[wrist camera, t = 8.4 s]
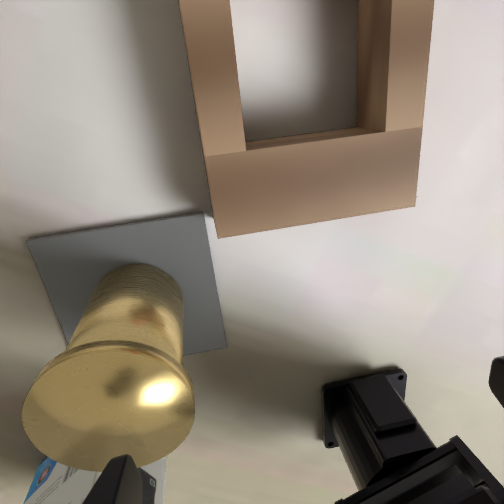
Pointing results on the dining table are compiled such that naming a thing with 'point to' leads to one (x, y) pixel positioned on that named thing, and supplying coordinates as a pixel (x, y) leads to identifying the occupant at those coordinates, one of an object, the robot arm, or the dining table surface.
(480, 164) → the dining table surface
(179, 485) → the dining table surface
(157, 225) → the felt pad
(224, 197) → the bore block
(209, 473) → the dining table surface
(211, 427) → the dining table surface
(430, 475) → the robot arm
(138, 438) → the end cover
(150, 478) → the ink box
